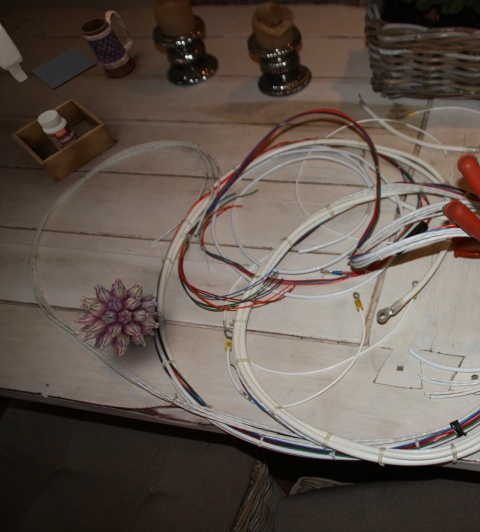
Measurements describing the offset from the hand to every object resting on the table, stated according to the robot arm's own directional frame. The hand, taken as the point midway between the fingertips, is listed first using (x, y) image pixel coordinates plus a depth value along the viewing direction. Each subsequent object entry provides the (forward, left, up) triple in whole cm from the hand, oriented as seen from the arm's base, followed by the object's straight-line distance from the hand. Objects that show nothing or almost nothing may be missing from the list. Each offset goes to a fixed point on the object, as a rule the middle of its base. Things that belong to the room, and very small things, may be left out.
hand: (11, 70), depth 101 cm
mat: (+13, +29, -19) cm, 37 cm away
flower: (-15, -52, -19) cm, 58 cm away
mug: (+23, +16, -19) cm, 34 cm away
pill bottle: (0, 0, -19) cm, 19 cm away
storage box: (0, 0, -19) cm, 19 cm away
